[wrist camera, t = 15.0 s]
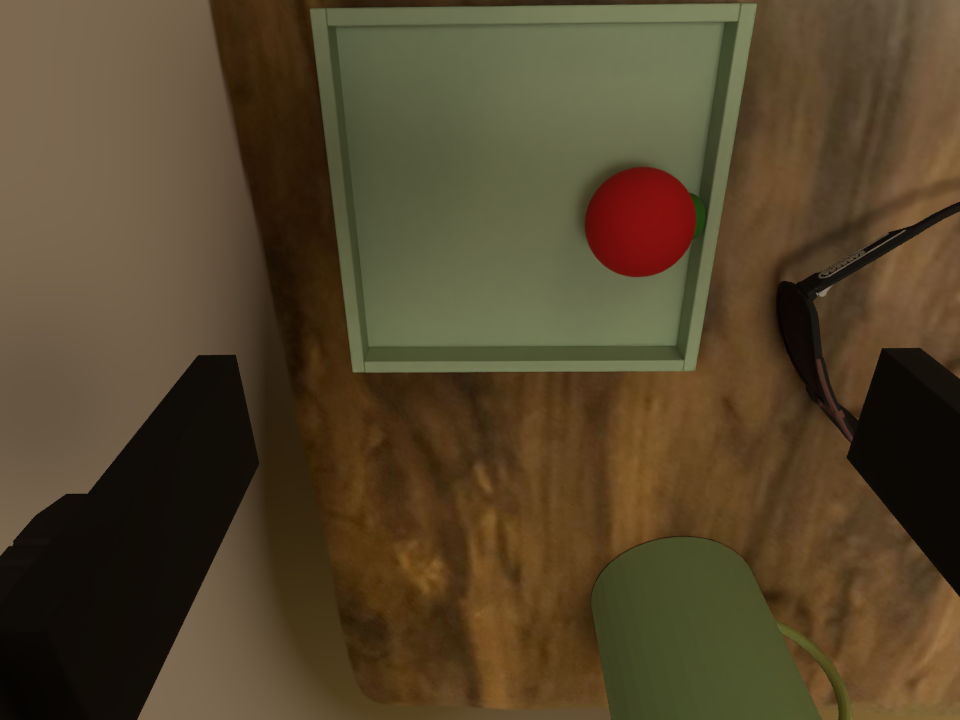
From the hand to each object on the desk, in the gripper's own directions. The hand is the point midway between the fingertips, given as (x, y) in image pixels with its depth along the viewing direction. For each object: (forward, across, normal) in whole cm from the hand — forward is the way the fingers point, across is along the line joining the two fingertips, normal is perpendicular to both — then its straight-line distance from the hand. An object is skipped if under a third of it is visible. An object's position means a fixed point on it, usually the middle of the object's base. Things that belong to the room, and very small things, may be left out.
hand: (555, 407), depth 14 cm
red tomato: (+14, +3, 0) cm, 14 cm away
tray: (+17, 0, 0) cm, 17 cm away
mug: (+17, +12, -25) cm, 33 cm away
